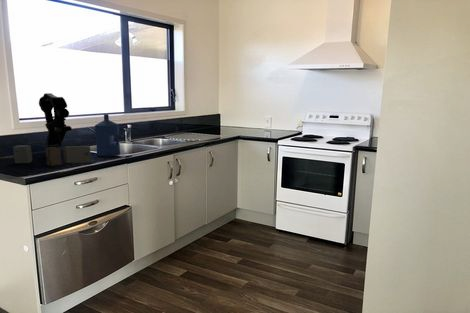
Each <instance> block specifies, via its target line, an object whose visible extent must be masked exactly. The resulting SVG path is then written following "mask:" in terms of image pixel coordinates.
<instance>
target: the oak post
mask: <svg viewBox="0 0 470 313" xmlns="http://www.w3.org/2000/svg"><path fill="white" fill-rule="evenodd" d="M61 155H62V153H61V148H60V147H58V148H57V147H51V148H48V147H46V148H45V156H46V157H45V158H46V164H47V165H48V166H52V167H54V166H61V165H62V156H61Z"/></svg>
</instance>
